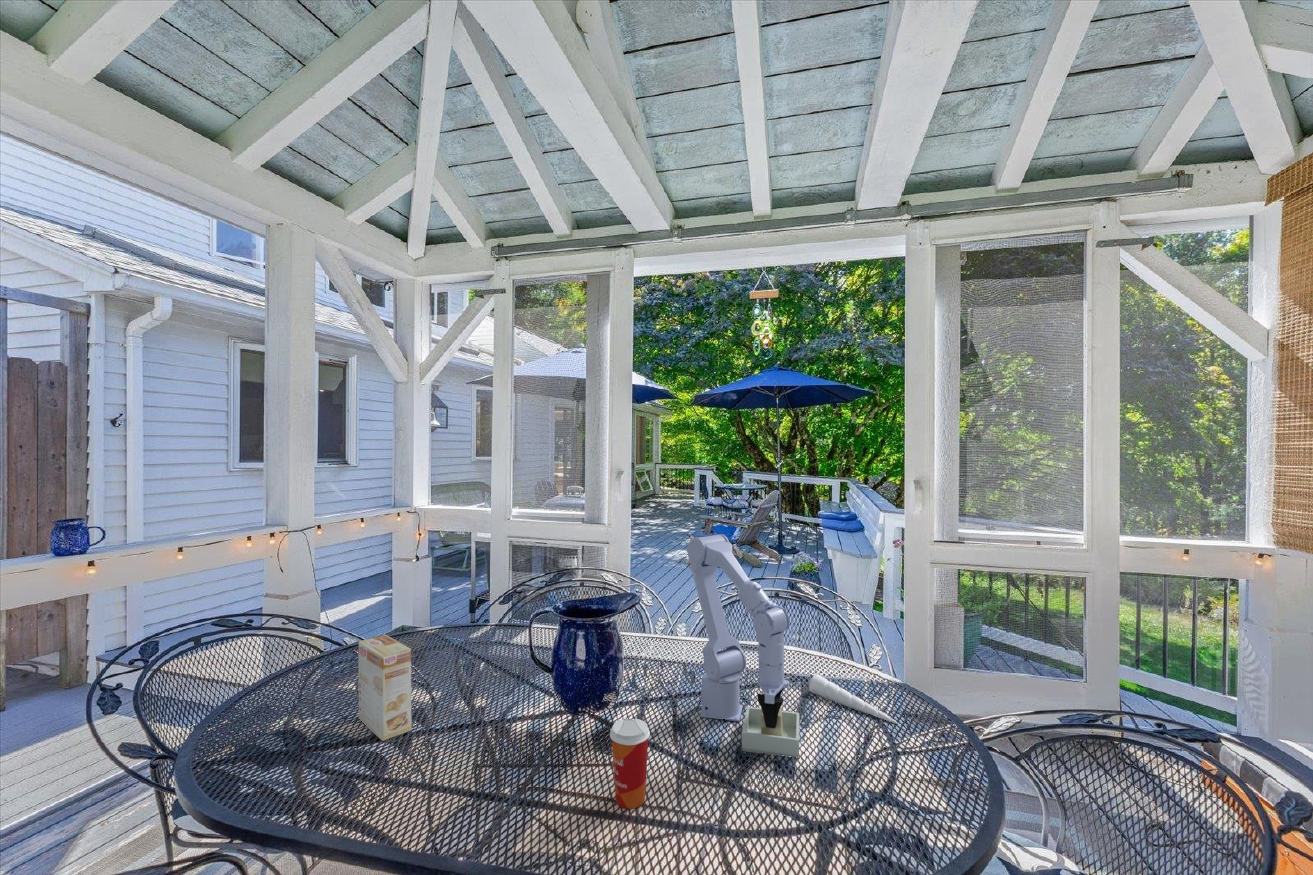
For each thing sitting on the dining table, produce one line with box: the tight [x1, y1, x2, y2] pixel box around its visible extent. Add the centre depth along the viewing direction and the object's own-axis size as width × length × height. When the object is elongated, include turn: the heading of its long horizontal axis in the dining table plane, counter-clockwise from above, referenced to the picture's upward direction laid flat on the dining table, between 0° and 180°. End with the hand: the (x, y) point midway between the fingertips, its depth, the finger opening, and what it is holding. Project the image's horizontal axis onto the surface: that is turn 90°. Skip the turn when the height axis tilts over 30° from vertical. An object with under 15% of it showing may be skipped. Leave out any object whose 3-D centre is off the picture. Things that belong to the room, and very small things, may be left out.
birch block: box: [760, 706, 783, 737], centre depth 128 cm, size 4×4×6 cm
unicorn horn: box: [809, 674, 898, 725], centre depth 144 cm, size 5×24×5 cm, turn 37°
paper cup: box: [609, 718, 651, 810], centre depth 108 cm, size 8×8×14 cm
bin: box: [741, 706, 800, 759], centre depth 128 cm, size 12×12×4 cm
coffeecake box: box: [357, 634, 413, 742], centre depth 136 cm, size 15×7×20 cm, turn 47°
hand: (771, 720), depth 128 cm, fingers open, 5 cm apart
